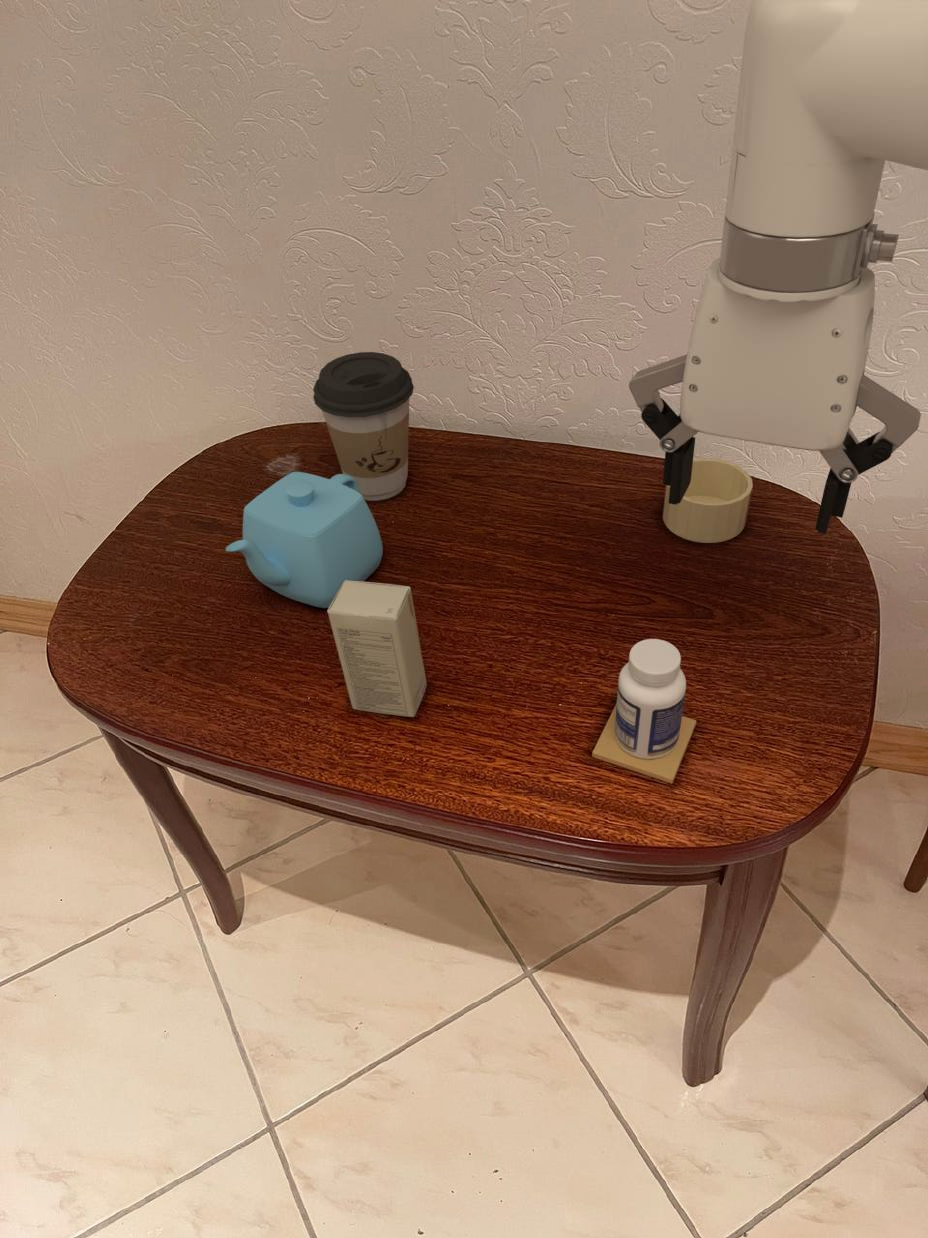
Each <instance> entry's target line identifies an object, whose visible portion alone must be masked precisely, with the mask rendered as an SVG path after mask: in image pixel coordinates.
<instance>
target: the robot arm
mask: <svg viewBox="0 0 928 1238" xmlns="http://www.w3.org/2000/svg"><path fill="white" fill-rule="evenodd" d="M746 19H747V20H746V28H745V33H744V39H743V49H742V58H741V66H740V75H739V85H738V94H737V101H736V102H737V103H736V111H735V121H734V129H733V139H732V147H731V156H730V157H731V158H730V165H729V173H728V174H729V176H728V186H727V193H726V194H727V195H726V204H725V214H724V220H723V229H722V237H721V238H722V239H721V247H720V256H719V258H716V259H715V260H713V261H712V262H711V263H710V265H709V268H708V270H707V273H706V276H705V279H704V281H703V284H702V288H701V291H700V295H699V299H698V302H697V306H696V310H695V315H694V319H693V323H692V328H691V333H690V337H689V343H688V348H687V354H684V355H680V356H677V357H675V358H672V359H669V360H667V361H664V362H661V363H657V364H655V365H652V366H649V367H646V368H643V369H640V370H638V371H636V372H635V374H634V375H633V377H632V378H631V380H630V381H629V383H628V387H629V391H630V393H631V395H632V397H633V399H634V401H635V403H636V406H637V408H639V409H640V412H641V414H640V417H641V420H642V421H643V423H644V424H645V425H646V426H647V427H648V429H650V431H651V432H652V433H653V435H654V436H656V438H658V440H659V447H660V449H661V450H662V451H663V452H664V464H663V477H662V485H664V486H666V485H668V486H670V492H669V504H674V505H677V503H680V502H681V500H682V498H683V496H684V494H685V492H686V491H687V489H688V487H689V485H690V482H691V475H692V465H693V459H694V455H695V446H696V437H695V436H696V435H697V434H699V433H701V434H706V435H710V436H717V437H721V438H728V439H734V440H739V441H746V442H753V443H758V444H765V445H771V446H778V447H784V448H790V449H797V450H804V451H812V452H819V453H820V455H821V456H822V458H823V459H824V460H825V462H826V464H827V465H828V466H829V471H828V474H827V476H826V480H825V484H824V489H823V492H822V497H821V502H820V506H819V510H818V514H817V519H816V523H815V528H814V530H815V531H817V533H819V534H825V535H826V534H827V532H828V529H829V525H830V522H831V519H832V517H836V518H841V519H843V517H844V513H845V511H846V507H847V502H848V500H849V499H848V498H849V494H850V490H851V486H852V484H853V482H855V481H856V480H857V479H858V477H859V475H861V474H863V473H866V472H867V471H868V470H870V469H873V468H875V467H876V466H878V465H881V464H883V463H884V462H886V461H887V460H889V459H890V458H891V456H892V454H893V453H894V452H895V451H896V450H897V449H899V448H900V447H901V446H902V445H903V444H904V443H905V442H906V441H907V440H908V439H909V438H910V437H911V436H912V435H914V433H915V432H916V431H918V429H919V426H920V422H921V418H922V417H921V416H922V413H921V411H920V410H919V409H918V408H917V407H914V406H913V405H911V404H910V403H909V402H907V401H905V400H904V399H902V398H901V397H900V396H898V395H896V394H894V393H893V392H891V391H890V390H888V389H886V388H885V387H883V386H882V385H881V384H879V383H877V382H876V381H874V380H873V379H871V378H869V377H868V376H867V375H865V371H866V365H867V361H868V355H869V349H870V342H871V336H872V331H873V323H874V314H875V312H874V311H875V300H876V298H875V297H876V278H875V277H876V276H875V272H874V271H873V270H871V269H870V268H869V267H868V266H869V264H870V263H871V264H877V262H890V263H892V262H893V261H894V256H895V253H896V248H897V245H898V240H899V235H900V234H895V233H885V230H881V229H878V224H877V223H874V218H875V209H876V205H877V200H878V197H879V191H880V186H881V182H882V177H883V173H884V168H885V163H886V161H887V162H890V163H894V164H895V163H896V164H899V165H904V166H908V167H911V168H914V169H915V168H916V169H920V170H924V171H928V0H753V2H752V5H751V6H750V9H749V11H748V15H747V18H746ZM680 383H681V389H680V399H679V413H678V414H677V413H676V412H675V411H674V410H673V409H672V408H671V406H670V405H669V404H668V403H667V402H666V401H665V400H664V399H663V398H662V397H661V392H660V390H661V389H664V388H667V387H670V386H674V385H677V384H680ZM857 408H859V409H861V410H863V412H866V413H867V414H869V415H870V416H872V417H873V418H874V419H876V420H878V421H880V422H881V423H883V424H884V426H883V428H882V429H881V430H880V431H878V432H876V433H874V434H873V435H871V436H869V437H867V438H865V439H863V440H861V441H859V440H858V438H857V437H856V435H855V434H854V432H853V430H852V429H851V428H850V427H851V424H852V419H853V418H854V416H855V415H856V411H857Z"/></svg>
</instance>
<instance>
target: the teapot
mask: <svg viewBox="0 0 928 1238" xmlns="http://www.w3.org/2000/svg"><path fill="white" fill-rule="evenodd" d="M225 551H226V552H231V553H234V552H235V553H236V552H237V553H240V554H242V555H243V556H244V558H245V561H246V565H247V568H248V570H249V571H250V572H251V573H252V575H253V576H254V578H256V579H257V580H258V581H259V582H260V583H261V584H263V585H264V586H266V587H268V588H269V589H271V590H272V591H274V592H275V593H278V594H279V595H280V596H283V597H285V598H287V599H290V600H293V601H296V602H299V603H302V604H305V605H309V606H312V607H316V608H322V609H328V608H329V607H330V605H331V603H332V601H333V599H334V598H335V596H336V594H337V593H338V591H339V589H340V588H341V586H342V584H343V582H344V581H345V580H348V581H361V582H366V580H367V579H368V578H369V577H370V576H371V575H372V574H373V573H374V572H375V571H376V570H377V569H378V567H379V566H380V564H381V562H382V559H383V558H382V557H383V553H384V552H383V551H384V547H383V541H382V538H381V534H380V531H379V527H378V525H377V522H376V519H375V518H374V515H373V514H372V511H371V509H370V508H369V506H368V503H367V502H366V500H364V498H363V496H362V495H361V494H360V493H358V485H357V482H356V480H355V479H354V478H353V477H351V476H349V475H346V474H343V473H338V474H335V475H333V476H332V477H331V478H327V477H323V476H320V475H317V474H312V473H308V472H302V471H293V472H290V473H288V474H287V475H285V476H283V477H282V478H281V479H279V480H277V481H276V482H275V483H273V484H272V485H271V486H269V487H268V488H267V489H265V490H264V491H263V492H261V493H260V494H259V495H257V496H256V497H255V498H253V499H252V500H251V501H250V502H249V503H248V504H246V505H245V506H244V508H243V516H242V539H239V540H236V541H234V542H231V543H230V544H228V545H227V546H226V547H225Z"/></svg>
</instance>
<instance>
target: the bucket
mask: <svg viewBox="0 0 928 1238" xmlns="http://www.w3.org/2000/svg"><path fill="white" fill-rule="evenodd" d="M753 484H754V483H753V479H752V477H751V475H750V474H749V473H748V471H746V470H745V469H743V468H742V467H741V466H739V465H737V464H735V463H733V462H730V461H727V460H723V459H718V458H708V457H707V458H706V457H701V458H700V457H699V458H693V465H692V475H691V482H690V485H689V487H688V489H687V491H686V492H685V494H684V496H683V498H682V500H681V502H680V503H677V505H674V504H669V492H670V486H668V485H665V489H664V497H663V505H662V506H663V507H662V521H663V523H664V525H665V526H666V528H667V529H668V530H669V531H670V532H671V533H673V534H674V535H676V536H678V537H680V538H682V539H684V540H688V541H689V542H690V541H691V542H696V543H702V544H714V543H722V542H726V541H729V540H731V539H733V538H735V537H737V536H738V535H740V534H741V533H742V532H743V530H744V528H745V526H746V523H747V519H748V514H749V509H750V504H751V499H752V494H753V488H754V485H753Z"/></svg>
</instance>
